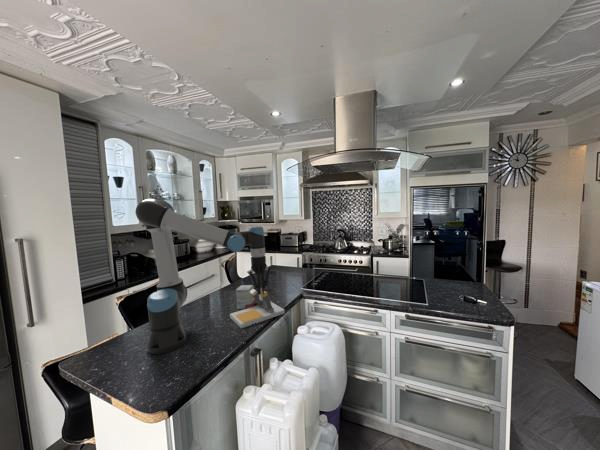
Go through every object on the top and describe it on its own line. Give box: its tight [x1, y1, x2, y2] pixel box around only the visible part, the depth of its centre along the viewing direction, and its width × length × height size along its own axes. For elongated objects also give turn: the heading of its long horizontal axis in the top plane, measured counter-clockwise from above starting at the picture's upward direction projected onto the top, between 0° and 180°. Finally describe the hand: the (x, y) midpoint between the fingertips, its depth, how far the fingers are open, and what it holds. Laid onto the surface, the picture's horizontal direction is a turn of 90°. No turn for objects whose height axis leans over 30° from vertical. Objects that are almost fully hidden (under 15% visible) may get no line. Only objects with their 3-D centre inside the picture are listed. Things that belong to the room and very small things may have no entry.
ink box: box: [235, 284, 256, 310], centre depth 146 cm, size 9×9×12 cm
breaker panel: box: [229, 301, 286, 329], centre depth 133 cm, size 25×16×4 cm, turn 125°
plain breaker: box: [250, 288, 263, 306], centre depth 139 cm, size 3×4×11 cm
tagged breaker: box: [263, 290, 272, 310], centre depth 132 cm, size 3×4×11 cm, turn 35°
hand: (261, 299), depth 130 cm, fingers closed
